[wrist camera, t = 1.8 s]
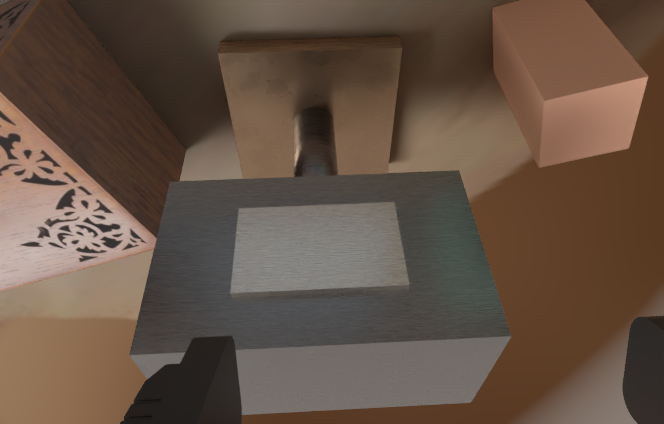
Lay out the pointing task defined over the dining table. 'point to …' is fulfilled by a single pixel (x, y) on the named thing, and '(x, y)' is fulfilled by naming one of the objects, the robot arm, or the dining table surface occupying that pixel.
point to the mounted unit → (323, 245)
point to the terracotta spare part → (566, 79)
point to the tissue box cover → (73, 149)
